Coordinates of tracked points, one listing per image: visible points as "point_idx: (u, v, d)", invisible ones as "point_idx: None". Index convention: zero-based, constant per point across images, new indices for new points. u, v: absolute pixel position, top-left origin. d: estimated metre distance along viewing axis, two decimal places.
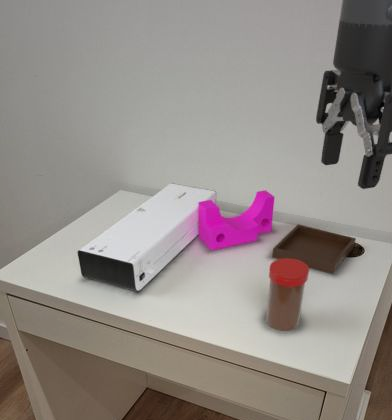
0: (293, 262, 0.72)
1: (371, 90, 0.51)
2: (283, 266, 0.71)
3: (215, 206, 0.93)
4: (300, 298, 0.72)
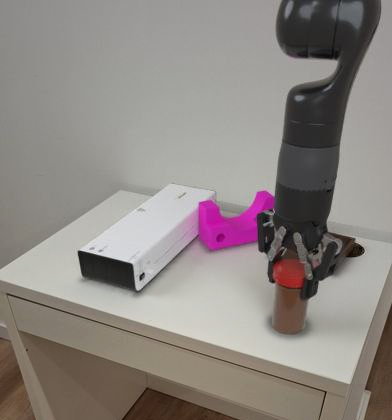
0: (285, 272, 0.69)
1: None
2: (298, 270, 0.69)
3: (215, 206, 0.93)
4: None
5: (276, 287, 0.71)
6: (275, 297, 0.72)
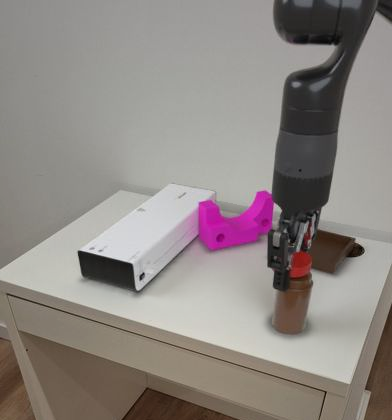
0: (303, 261, 0.69)
1: None
2: None
3: (215, 206, 0.93)
4: None
5: None
6: (277, 297, 0.72)
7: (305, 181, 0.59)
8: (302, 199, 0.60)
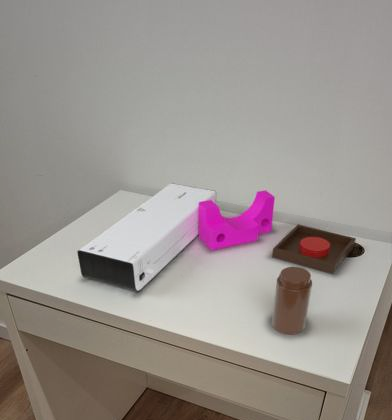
0: (324, 245, 0.92)
1: None
2: (316, 241, 0.93)
3: (215, 206, 0.93)
4: None
5: (277, 288, 0.71)
6: (276, 298, 0.72)
7: None
8: None
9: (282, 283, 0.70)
